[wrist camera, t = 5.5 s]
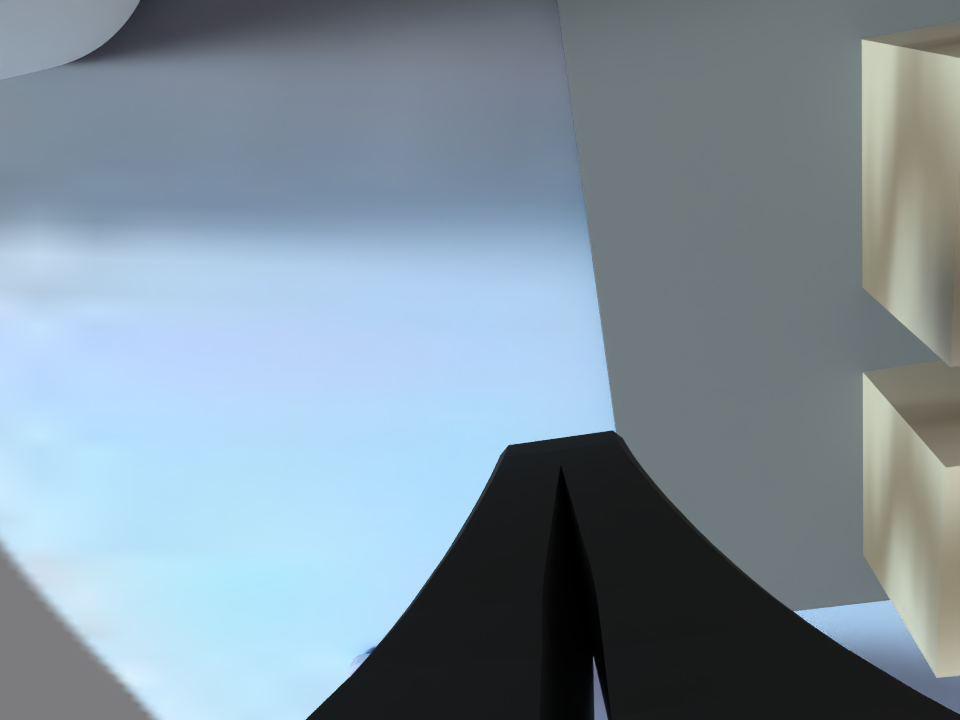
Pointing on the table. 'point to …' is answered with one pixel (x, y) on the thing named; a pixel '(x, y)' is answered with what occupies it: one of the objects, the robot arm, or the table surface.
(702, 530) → the mat
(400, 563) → the table surface
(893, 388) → the beige square block
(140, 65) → the table surface
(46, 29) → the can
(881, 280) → the plain block
